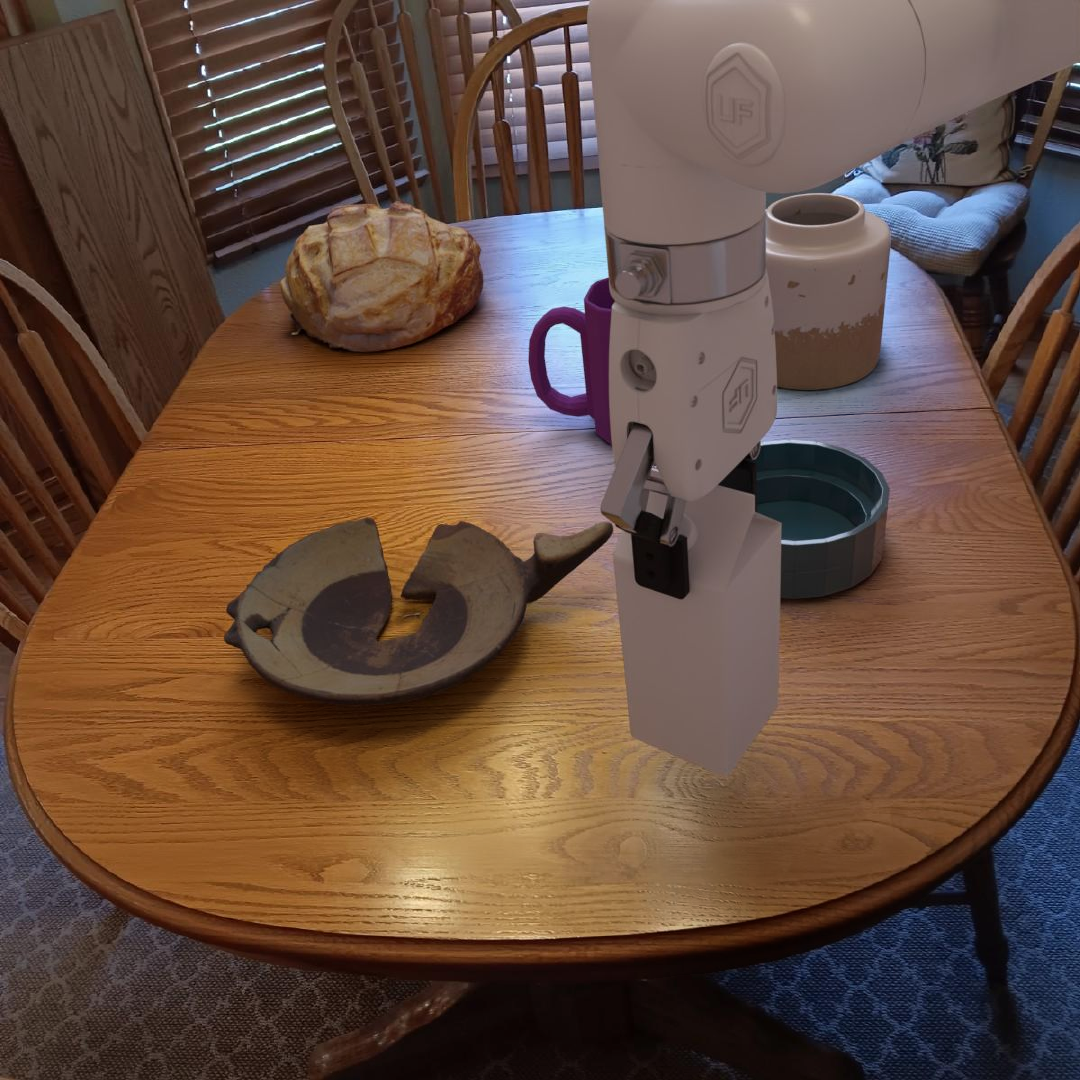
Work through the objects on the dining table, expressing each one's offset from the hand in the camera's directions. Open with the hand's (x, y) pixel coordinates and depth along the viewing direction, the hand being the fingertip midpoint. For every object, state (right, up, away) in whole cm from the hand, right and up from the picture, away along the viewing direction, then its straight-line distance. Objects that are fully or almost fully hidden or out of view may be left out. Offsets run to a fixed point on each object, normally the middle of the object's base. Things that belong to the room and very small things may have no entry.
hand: (697, 549), depth 60 cm
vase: (+21, +21, +56) cm, 63 cm away
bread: (-29, +31, +78) cm, 89 cm away
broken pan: (-18, -8, +25) cm, 32 cm away
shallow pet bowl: (+12, 0, +29) cm, 32 cm away
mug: (-2, +12, +49) cm, 50 cm away
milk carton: (+2, -12, +8) cm, 14 cm away
